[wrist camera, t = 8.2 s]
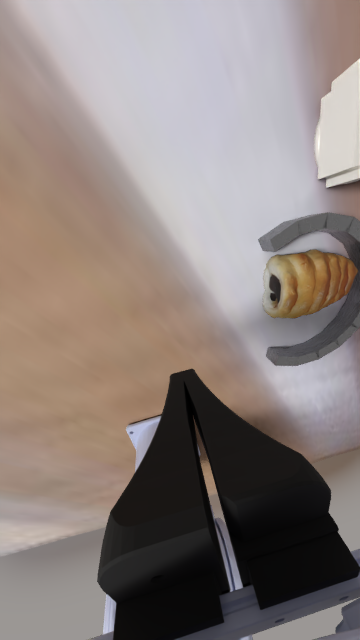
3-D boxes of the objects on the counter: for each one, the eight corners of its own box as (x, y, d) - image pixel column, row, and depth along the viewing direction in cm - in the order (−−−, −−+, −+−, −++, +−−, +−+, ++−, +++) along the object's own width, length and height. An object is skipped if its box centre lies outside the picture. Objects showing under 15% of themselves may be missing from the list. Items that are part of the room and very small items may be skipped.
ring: (353, 336, 25) (369, 344, 23) (266, 362, 24) (275, 371, 23) (373, 198, 19) (397, 194, 17) (257, 229, 18) (269, 227, 16)
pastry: (346, 241, 20) (387, 242, 17) (334, 303, 23) (367, 315, 19) (260, 255, 19) (284, 259, 16) (258, 317, 22) (278, 332, 19)
